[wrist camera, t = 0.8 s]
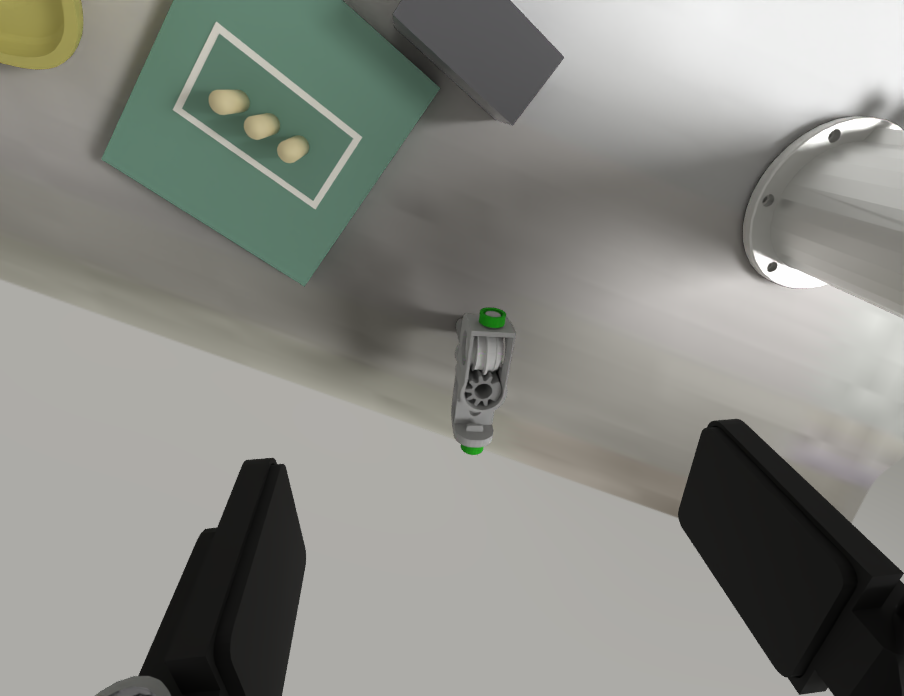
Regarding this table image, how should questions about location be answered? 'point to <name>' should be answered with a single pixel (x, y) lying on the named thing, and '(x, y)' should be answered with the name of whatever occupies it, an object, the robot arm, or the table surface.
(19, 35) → the plastic component
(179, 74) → the board
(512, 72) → the block
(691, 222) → the table surface
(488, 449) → the table surface
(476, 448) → the mechanical component
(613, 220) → the table surface
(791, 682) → the robot arm
